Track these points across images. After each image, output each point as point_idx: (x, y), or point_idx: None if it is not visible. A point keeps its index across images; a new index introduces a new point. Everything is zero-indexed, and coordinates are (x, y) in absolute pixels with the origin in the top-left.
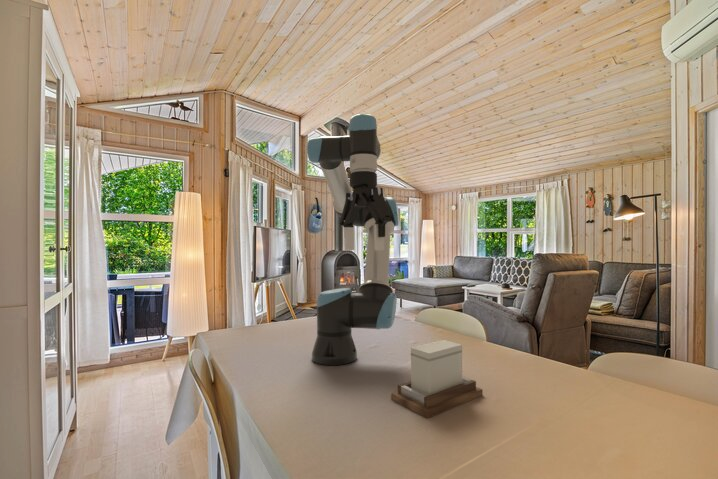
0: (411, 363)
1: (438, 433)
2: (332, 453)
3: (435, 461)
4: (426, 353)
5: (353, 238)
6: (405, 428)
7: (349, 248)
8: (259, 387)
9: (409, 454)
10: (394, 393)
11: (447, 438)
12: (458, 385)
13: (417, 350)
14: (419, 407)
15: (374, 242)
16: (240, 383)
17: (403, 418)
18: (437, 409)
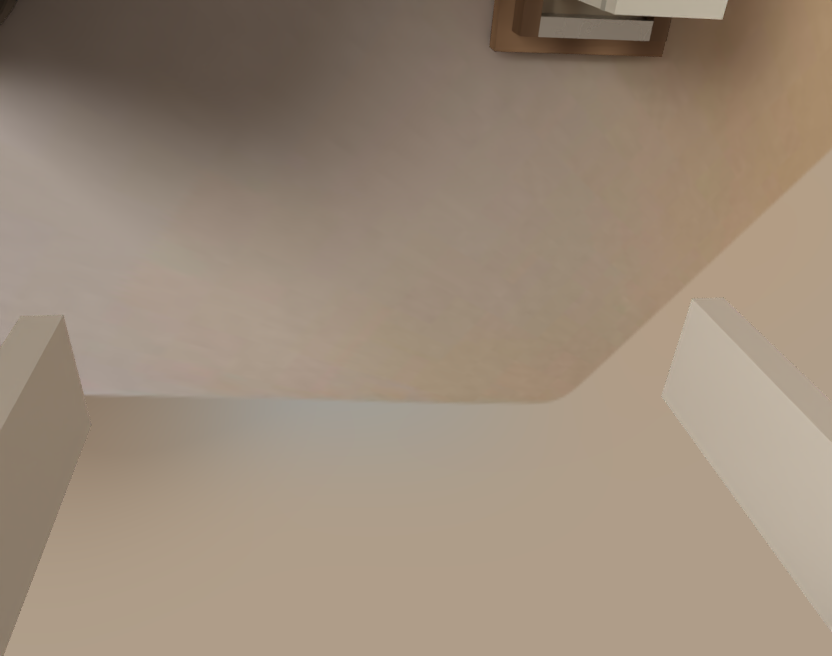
0: (589, 4)
1: (709, 89)
2: (572, 328)
3: (750, 186)
4: (706, 17)
5: (7, 443)
6: (630, 141)
7: (78, 398)
8: (129, 340)
9: (695, 211)
10: (504, 43)
11: (738, 90)
12: None
13: (653, 15)
14: (629, 55)
15: (704, 454)
16: None
17: (594, 106)
18: None
